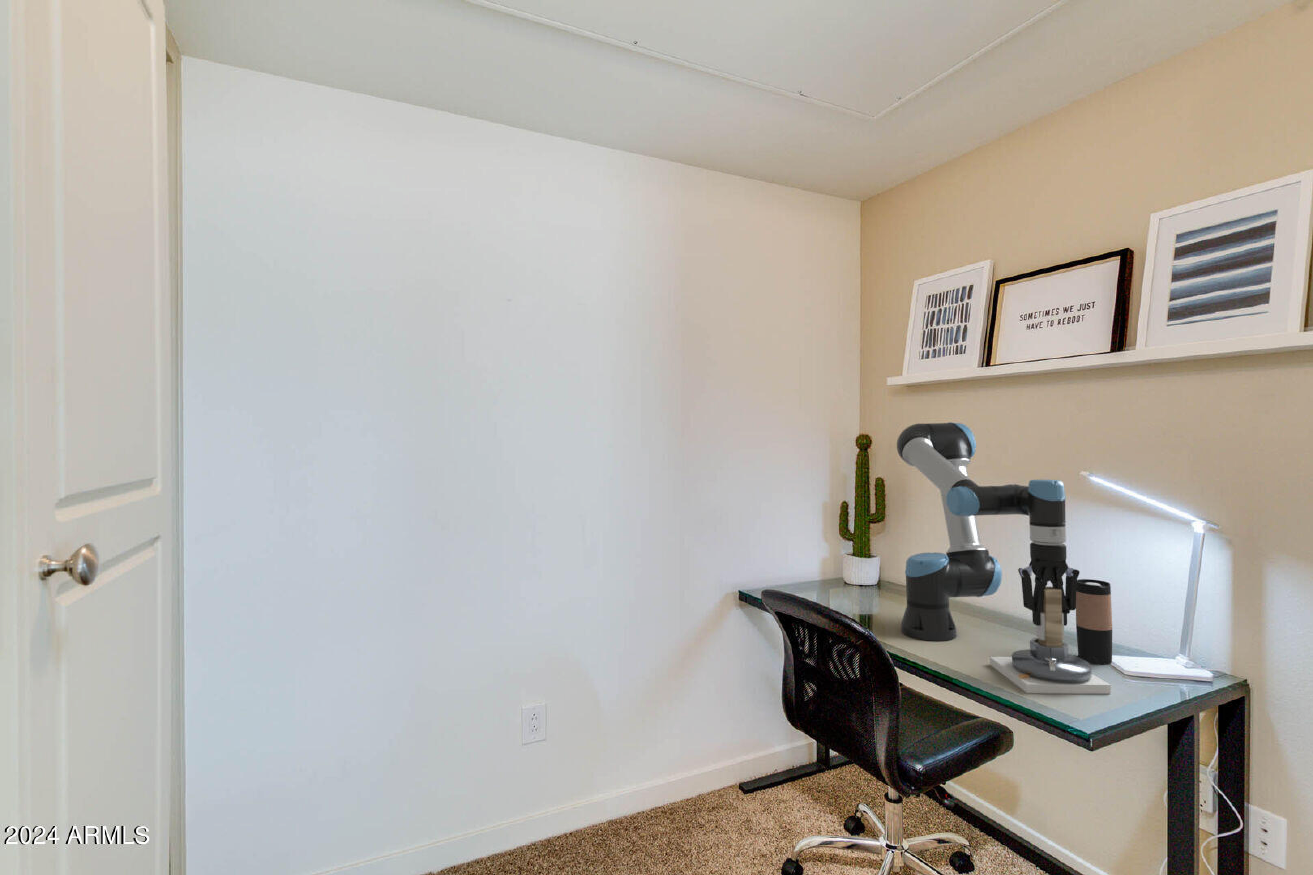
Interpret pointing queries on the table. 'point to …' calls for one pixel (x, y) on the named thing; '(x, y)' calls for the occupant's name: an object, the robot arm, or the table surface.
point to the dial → (1051, 663)
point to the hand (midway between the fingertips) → (1050, 638)
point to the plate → (1048, 681)
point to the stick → (1052, 617)
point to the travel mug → (1094, 621)
